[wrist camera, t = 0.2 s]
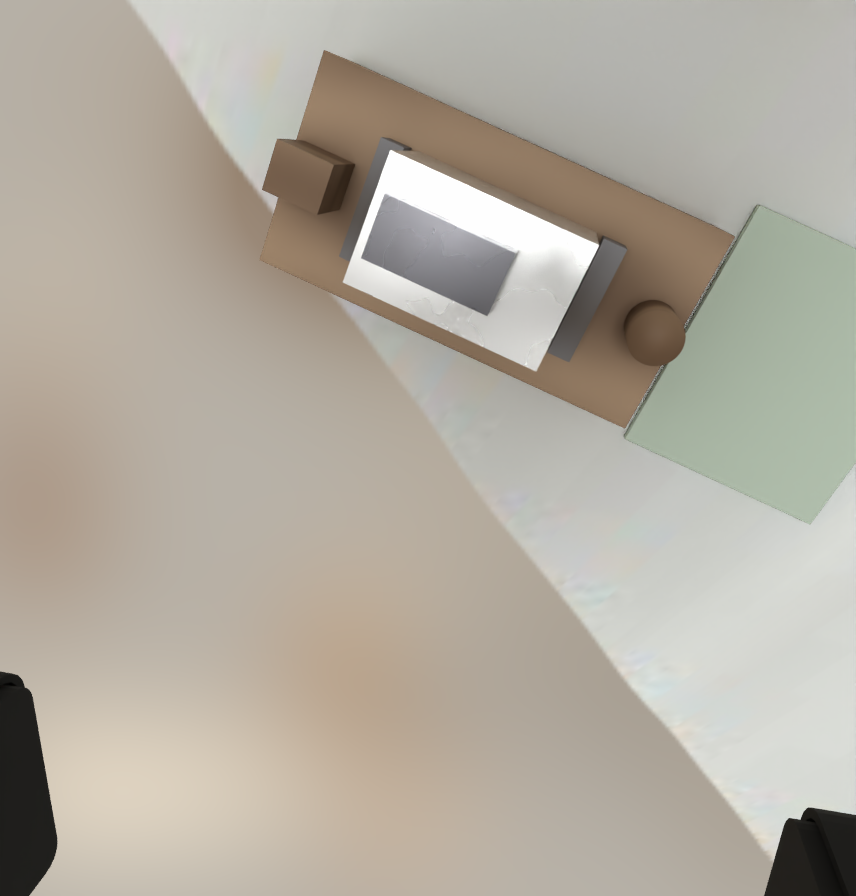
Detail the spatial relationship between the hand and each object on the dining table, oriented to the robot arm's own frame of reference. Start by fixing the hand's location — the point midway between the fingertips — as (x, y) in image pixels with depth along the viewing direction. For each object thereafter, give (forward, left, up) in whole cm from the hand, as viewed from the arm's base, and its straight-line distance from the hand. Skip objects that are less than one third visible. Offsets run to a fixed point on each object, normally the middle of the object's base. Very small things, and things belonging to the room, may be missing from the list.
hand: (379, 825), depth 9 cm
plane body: (-3, -3, -30) cm, 30 cm away
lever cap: (-3, -3, -26) cm, 26 cm away
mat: (-3, +12, -30) cm, 32 cm away
